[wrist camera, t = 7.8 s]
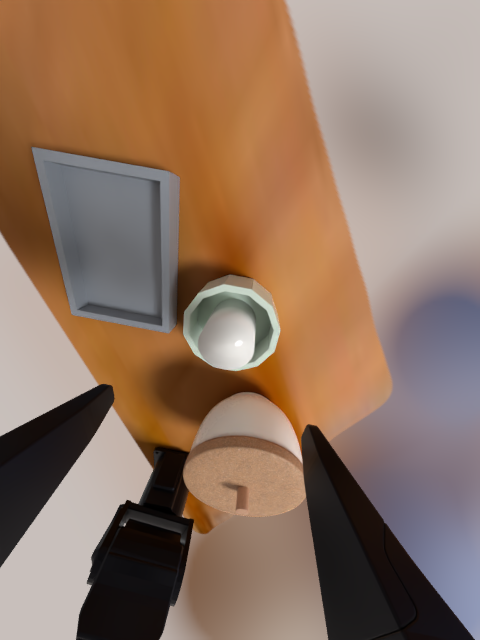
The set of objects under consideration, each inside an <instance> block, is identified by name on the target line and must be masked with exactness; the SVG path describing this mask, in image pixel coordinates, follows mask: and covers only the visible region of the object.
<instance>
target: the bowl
mask: <svg viewBox="0 0 480 640" xmlns="http://www.w3.org/2000/svg"><path fill="white" fill-rule="evenodd" d="M226 299H239V300H242V301H244V302H246V303H247V304H249V305H250V306H251V307H252V309H253V310H254V312H255V315H256V330H255V347H254V354H253V356H252V358H251V360H250V361H249V362H248V363H247V364H246V365H244V366H242V367H240V368H237V369H233V370H232V371H239V370H243V369H248V368H252V367H256V366H258V365H260V364H261V363H262V362H263V361H264V360H265V359H266V358H268V357H269V356H270V355H271V354H272V353H273V352H274V351H275V348H276V344H277V341H278V337H279V334H280V324H279V319H278V314H277V310H276V307H275V304H274V301H273V298H272V295H271V293H269V292H268V291H267V290H266V289H265V288H264V287H262V286H261V285H260V284H259V283H258V282H257V281H255V280H254V279H252V278H247V277H241V276H236V275H227V276H224V277H221V278H218V279H216V280H213V281H210V282H208V283H207V284H206V285H205V286H204V287H203V289H202V290H201V291H200V292H199V293H198V294H197V296H196V297H195V298H194V300H193V301H192V302H191V304H190V305H189V306H188V308H187V309H186V310H185V311H184V327H183V335H184V337H185V338H186V340H187V342H188V344H189V346H190V347H191V349H192V351H193V353H194V354H195V355H197V356H198V357H199V358H201V359H202V360H204V361H205V362H207V361H206V360H205V359H204V358H203V357H202V355H201V354H200V351H199V348H198V338H199V336H200V334H201V332H202V330H203V328H204V326H205V325H206V323H207V321H208V319H209V317H210V316H211V314H212V312H213V310H214V308H215V307H216V306H217V305H218V304H219V303H220V302H222V301H224V300H226ZM207 363H208V362H207ZM208 364H209V363H208ZM210 365H211V364H210ZM211 366H212V365H211ZM212 367H215V366H212ZM216 368H217V367H216Z"/></svg>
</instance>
